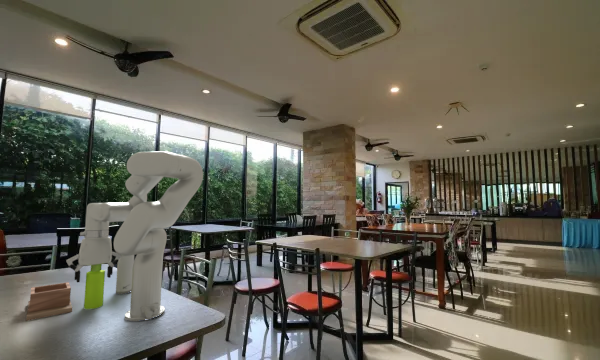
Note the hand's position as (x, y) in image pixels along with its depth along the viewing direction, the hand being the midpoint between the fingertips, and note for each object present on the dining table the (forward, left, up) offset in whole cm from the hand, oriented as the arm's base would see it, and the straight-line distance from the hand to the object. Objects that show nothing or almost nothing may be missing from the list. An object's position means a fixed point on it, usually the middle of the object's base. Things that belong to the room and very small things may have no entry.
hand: (93, 279), depth 107 cm
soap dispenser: (0, 0, -10) cm, 10 cm away
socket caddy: (+9, +12, -10) cm, 18 cm away
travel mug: (+12, -13, -10) cm, 21 cm away
